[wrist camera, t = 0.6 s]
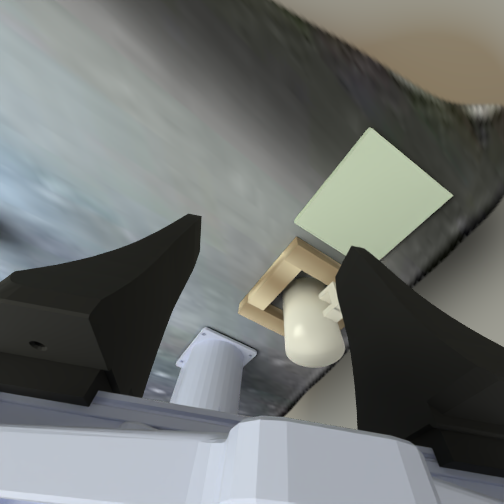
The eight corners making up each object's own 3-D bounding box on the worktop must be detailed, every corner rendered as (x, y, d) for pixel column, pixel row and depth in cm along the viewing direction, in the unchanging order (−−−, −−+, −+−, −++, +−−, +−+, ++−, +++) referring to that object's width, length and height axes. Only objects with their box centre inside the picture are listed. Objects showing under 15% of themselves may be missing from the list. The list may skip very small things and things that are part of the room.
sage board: (366, 266, 24) (368, 270, 24) (294, 220, 22) (294, 223, 22) (448, 193, 20) (453, 195, 19) (368, 127, 18) (371, 128, 17)
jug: (308, 317, 28) (318, 374, 23) (273, 298, 27) (274, 353, 21) (350, 279, 25) (375, 334, 19) (313, 256, 24) (327, 307, 18)
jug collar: (311, 339, 30) (313, 351, 29) (239, 303, 28) (238, 313, 27) (376, 286, 25) (382, 297, 24) (296, 236, 23) (297, 244, 22)
